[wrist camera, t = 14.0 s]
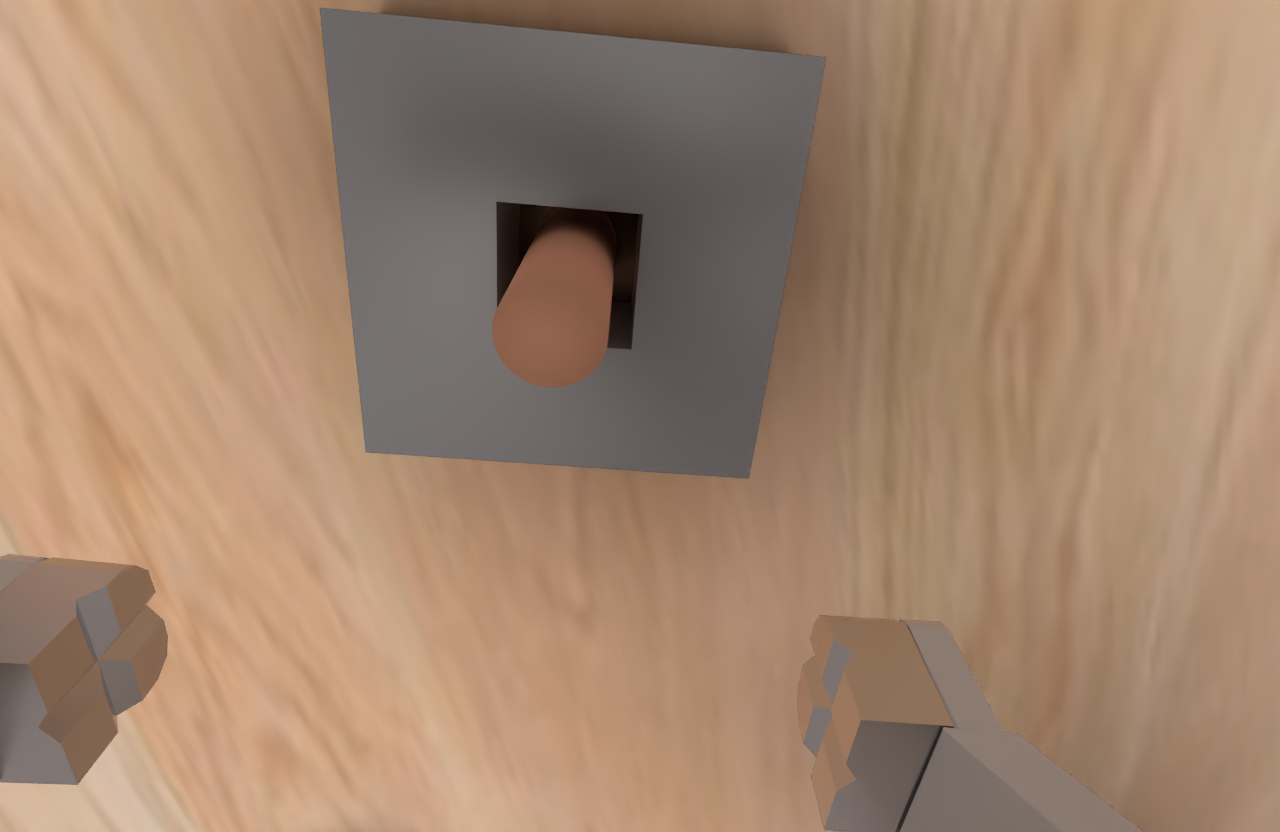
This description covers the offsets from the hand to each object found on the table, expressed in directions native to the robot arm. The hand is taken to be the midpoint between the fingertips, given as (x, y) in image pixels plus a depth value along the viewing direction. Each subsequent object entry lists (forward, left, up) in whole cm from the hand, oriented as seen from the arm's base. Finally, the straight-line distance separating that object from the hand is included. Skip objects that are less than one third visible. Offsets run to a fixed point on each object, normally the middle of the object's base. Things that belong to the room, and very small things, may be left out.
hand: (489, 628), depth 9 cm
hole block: (0, 0, -21) cm, 21 cm away
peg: (0, 0, -21) cm, 21 cm away
